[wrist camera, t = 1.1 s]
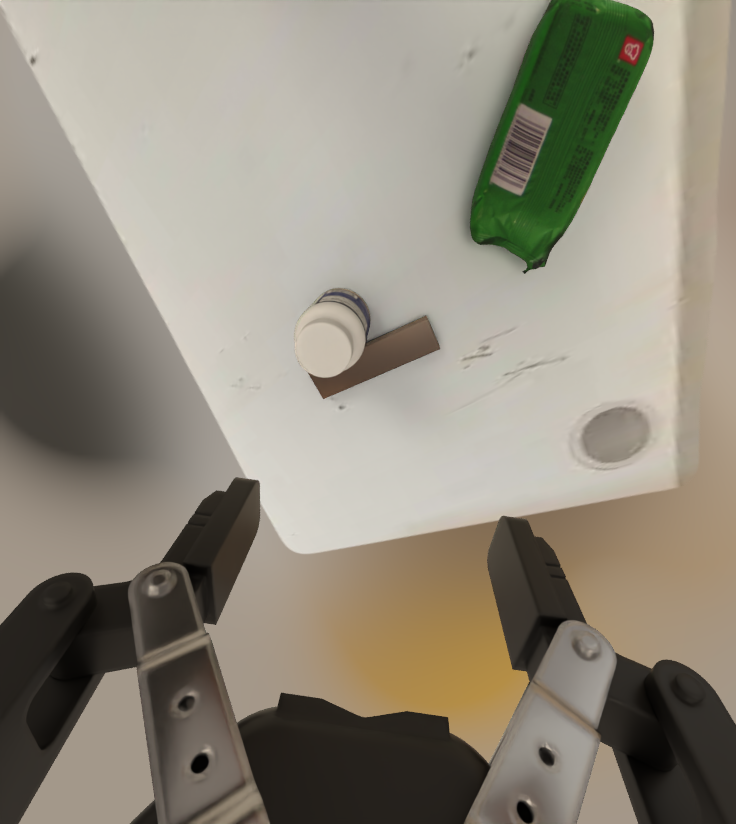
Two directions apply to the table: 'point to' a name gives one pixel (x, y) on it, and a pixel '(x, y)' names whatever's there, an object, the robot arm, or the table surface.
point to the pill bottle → (332, 333)
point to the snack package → (558, 124)
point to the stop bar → (383, 356)
